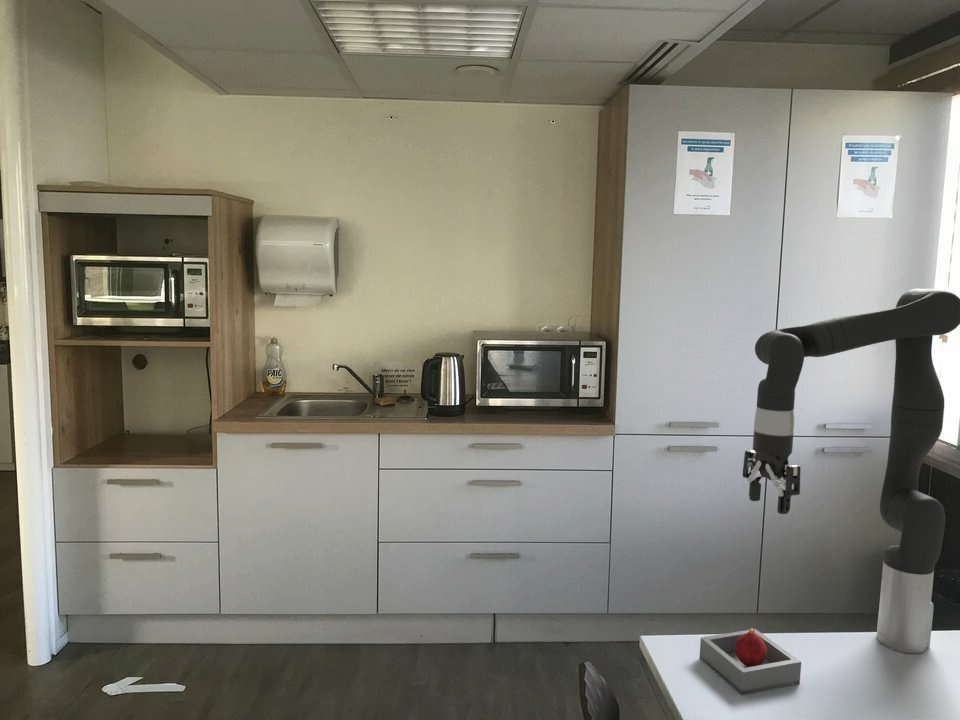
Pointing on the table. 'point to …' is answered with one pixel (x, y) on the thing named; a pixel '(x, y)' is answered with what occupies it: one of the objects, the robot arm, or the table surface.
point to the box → (746, 680)
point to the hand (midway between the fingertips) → (768, 506)
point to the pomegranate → (750, 649)
